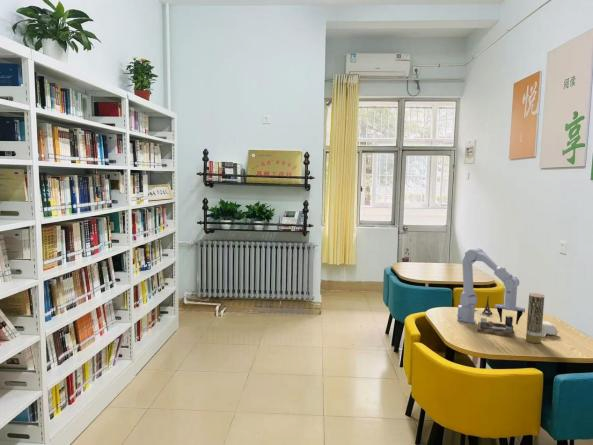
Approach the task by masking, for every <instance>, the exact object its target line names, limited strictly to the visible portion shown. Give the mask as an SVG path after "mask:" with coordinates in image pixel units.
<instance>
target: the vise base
mask: <svg viewBox="0 0 593 445" xmlns="http://www.w3.org/2000/svg"><path fill="white" fill-rule="evenodd" d="M487 320H488V319H487V317H481V318H480V321H478V322H477V327H476V330H477V331H476V332H478V333H484V334H490V335H495V336H501V337H502V336H503V337H507V338H508V337H509V338H512V339H513V338H514V337H515V331H514V325H513V324H512V330H506V329H505V323H501V322H500V323H498V322H494V321H492V320H488V321H487Z"/></svg>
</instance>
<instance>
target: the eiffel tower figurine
mask: <svg viewBox="0 0 593 445" xmlns="http://www.w3.org/2000/svg"><path fill="white" fill-rule="evenodd" d="M476 311H477V312H478V310H477V309H475V312H476ZM481 313H482V315H483V316H482V315H481V316H482V317H485V318H487V317H489V318H491V315H493V312H492V311H491V308H490V305H489V295H487V299H486V305H485V308H484V310H483V311H482V312H481Z"/></svg>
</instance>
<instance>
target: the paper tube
mask: <svg viewBox="0 0 593 445" xmlns="http://www.w3.org/2000/svg"><path fill="white" fill-rule="evenodd" d="M544 306H545V295H544V294H541V293H536V292H530V293H529V294H528V306H527V318H526V335H525V339H526V341H527V342H528V343H533V344H540V343H541V342H542V336H541V335H542V322H543V321H544V317H543V316H544V308H545V307H544Z"/></svg>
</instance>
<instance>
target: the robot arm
mask: <svg viewBox="0 0 593 445" xmlns="http://www.w3.org/2000/svg"><path fill="white" fill-rule="evenodd" d="M476 262H481V263H482V262H483V263H484V265H486V266H487V267H488V268H490V269H491V270H492V271H493V273H494V275H495V276H496V277H497V278H498V279H499V280H500V281H501V282H502V283H503V286H504V302H503V304H494V309H496V310H497V313H498V317H499V319H500V320H499V321H500V323H502V322H503V310H506V311H513V312H516V320H515V325H519V321H520V319H521V317H522V316H523V313H525V312H526V308H525V307H521V306H517V297H518V296H517V295H518V286H519V285H520V279H518V277H516V276H513V275H512V274H510V272H508V271H507V269H506V268H505V267H503V266H498V265H497V263H495V261H494V260H492V258H491V257H490V256H489V255H488V254H487V253H486V252H485V251H484V250H483V249H482V248H474V249H468V250H467V251H466V252H464V256H463V259H462V262H461V263H462V281H463V284H462V286H463V290H462V292H461V293H460V298H459V303H460V304H458V306H457V314H456V317H457V318H456V321H457V322H464V323H470V324H475V321H476V318H475V314H476V311H475V310H476V304H477V303H478V302H479V301H478V297H477V295H476V294H477V292H475V290H474V277H473V275H474V272H473V270H474V269H473V265H474V264H475V263H476Z"/></svg>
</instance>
